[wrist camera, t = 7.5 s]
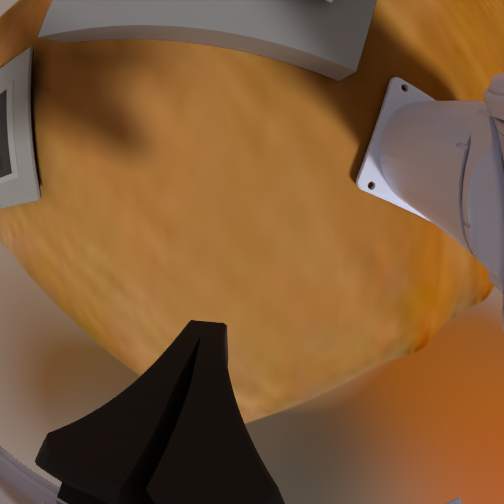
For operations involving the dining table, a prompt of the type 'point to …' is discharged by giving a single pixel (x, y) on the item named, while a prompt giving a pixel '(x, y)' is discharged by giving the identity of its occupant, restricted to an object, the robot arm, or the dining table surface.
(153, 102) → the dining table surface
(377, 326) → the dining table surface
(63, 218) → the dining table surface
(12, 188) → the electrical outlet
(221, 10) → the panel
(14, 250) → the dining table surface
